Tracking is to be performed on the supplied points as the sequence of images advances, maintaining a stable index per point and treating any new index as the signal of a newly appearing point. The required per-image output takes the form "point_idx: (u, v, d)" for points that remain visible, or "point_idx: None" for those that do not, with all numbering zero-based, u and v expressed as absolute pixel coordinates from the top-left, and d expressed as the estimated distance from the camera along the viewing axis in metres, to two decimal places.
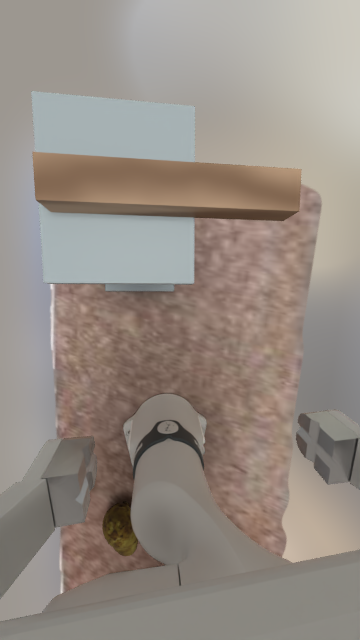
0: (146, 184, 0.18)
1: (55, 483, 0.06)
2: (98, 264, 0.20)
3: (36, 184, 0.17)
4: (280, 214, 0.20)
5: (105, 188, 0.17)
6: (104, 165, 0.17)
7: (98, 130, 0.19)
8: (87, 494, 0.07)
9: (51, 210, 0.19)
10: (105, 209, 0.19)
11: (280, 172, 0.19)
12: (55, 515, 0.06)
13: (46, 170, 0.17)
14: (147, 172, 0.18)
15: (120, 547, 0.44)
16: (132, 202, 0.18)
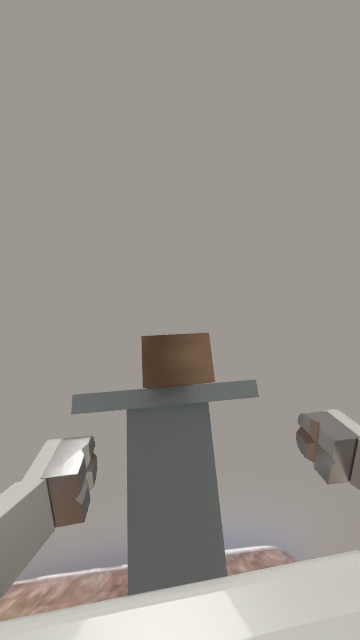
0: None
1: (55, 483, 0.06)
2: None
3: None
4: None
5: None
6: None
7: None
8: (87, 494, 0.07)
9: None
10: None
11: None
12: (55, 515, 0.06)
13: None
14: None
15: None
16: None
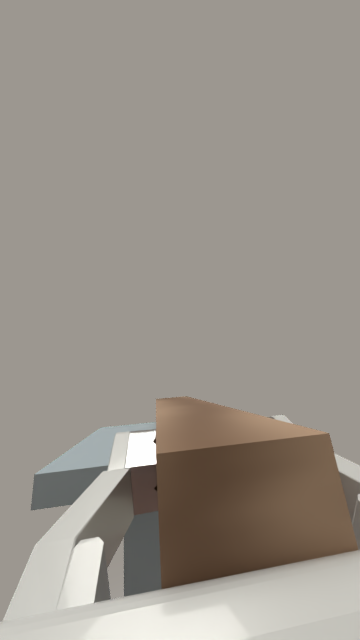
0: (176, 402, 0.17)
1: (135, 472, 0.07)
2: (107, 434, 0.20)
3: (166, 398, 0.25)
4: None
5: (168, 400, 0.20)
6: (186, 399, 0.20)
7: None
8: None
9: None
10: None
11: (266, 421, 0.06)
12: (132, 504, 0.07)
13: (176, 397, 0.24)
14: (188, 401, 0.17)
15: None
16: (157, 403, 0.18)
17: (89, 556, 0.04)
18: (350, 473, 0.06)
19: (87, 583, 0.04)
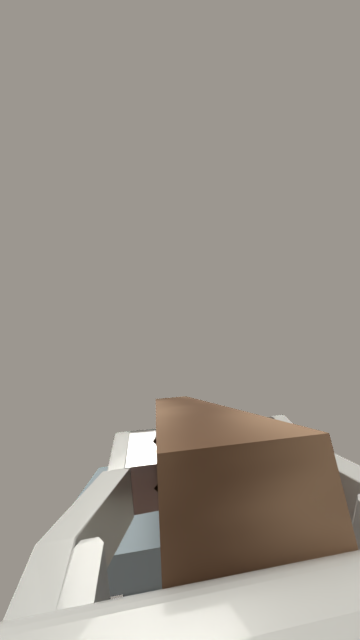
0: (176, 402, 0.17)
1: (135, 472, 0.07)
2: None
3: (165, 398, 0.25)
4: None
5: (167, 400, 0.20)
6: None
7: None
8: None
9: None
10: None
11: (266, 421, 0.06)
12: (132, 504, 0.07)
13: None
14: (188, 401, 0.17)
15: None
16: (157, 403, 0.18)
17: (89, 556, 0.04)
18: (351, 473, 0.06)
19: (87, 583, 0.04)
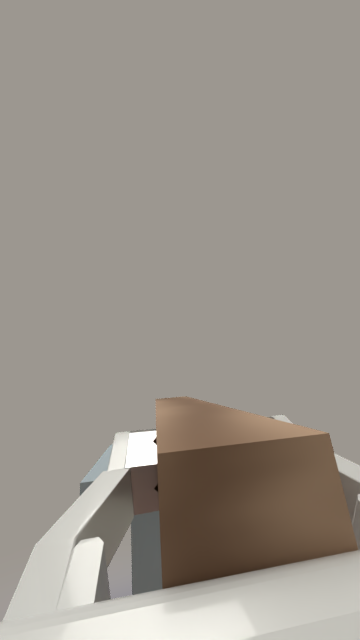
0: (176, 402, 0.17)
1: (135, 472, 0.07)
2: None
3: (165, 398, 0.25)
4: None
5: (167, 400, 0.20)
6: None
7: None
8: None
9: None
10: None
11: (266, 421, 0.06)
12: (132, 504, 0.07)
13: None
14: (187, 401, 0.17)
15: None
16: (157, 403, 0.18)
17: (89, 556, 0.04)
18: (350, 473, 0.06)
19: (87, 583, 0.04)
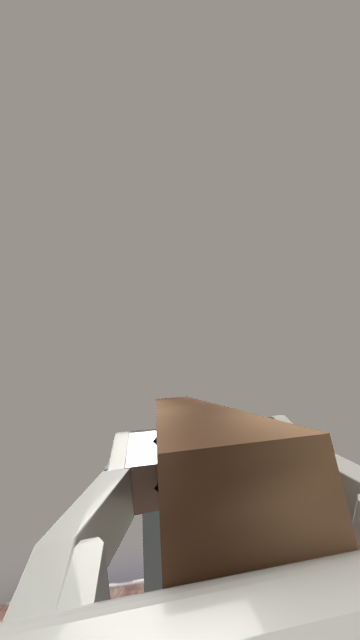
0: (176, 402, 0.17)
1: (135, 472, 0.07)
2: None
3: (165, 398, 0.25)
4: None
5: (167, 400, 0.20)
6: (186, 399, 0.20)
7: None
8: None
9: None
10: None
11: (266, 421, 0.06)
12: (132, 504, 0.07)
13: None
14: (187, 401, 0.17)
15: None
16: (157, 403, 0.18)
17: (89, 556, 0.04)
18: (351, 473, 0.06)
19: (87, 583, 0.04)
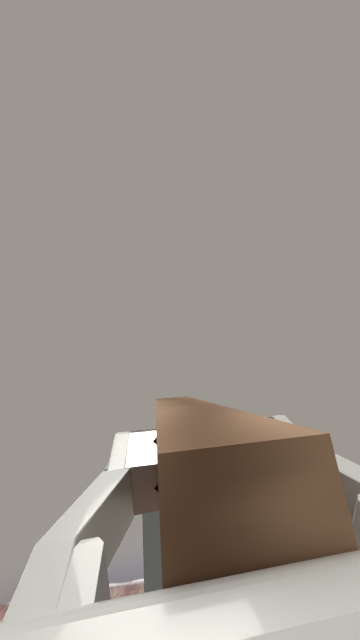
0: (176, 402, 0.17)
1: (135, 472, 0.07)
2: None
3: (165, 398, 0.25)
4: None
5: (167, 400, 0.20)
6: (186, 399, 0.20)
7: None
8: None
9: None
10: None
11: (266, 421, 0.06)
12: (132, 504, 0.07)
13: None
14: (187, 401, 0.17)
15: None
16: (157, 403, 0.18)
17: (89, 556, 0.04)
18: (351, 473, 0.06)
19: (87, 583, 0.04)
